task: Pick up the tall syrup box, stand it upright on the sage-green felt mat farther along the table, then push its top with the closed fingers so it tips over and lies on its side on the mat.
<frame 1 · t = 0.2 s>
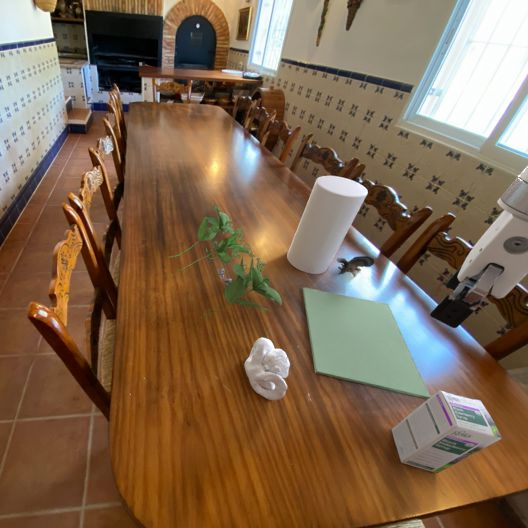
hand: (449, 304, 45), 25 cm above the table, tool pointing down, fingers open, 9 cm apart
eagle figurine: (348, 272, 89), on the table
felt mat: (355, 335, 70), on the table
baby figurine: (262, 374, 61), on the table
plant cuttings: (212, 292, 78), on the table
syrup box: (411, 450, 52), on the table
cylinder: (307, 261, 92), on the table
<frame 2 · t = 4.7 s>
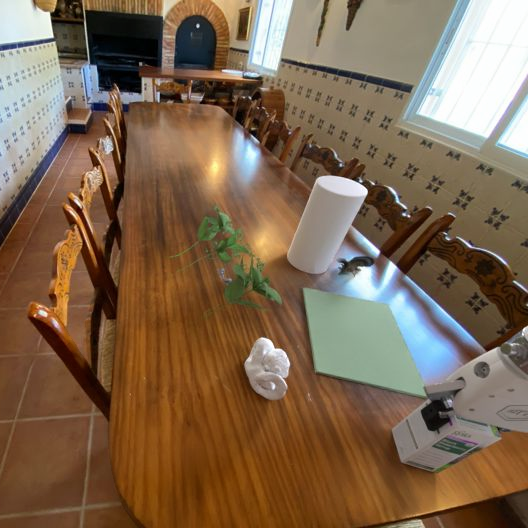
hand: (449, 426, 45), 10 cm above the table, tool pointing down, fingers closed on syrup box, 5 cm apart
syrup box: (411, 450, 52), on the table, touching gripper
everything else where it was.
when the fingers open (11 cm above the table, at t = 12.0 s): syrup box stays where it is, resting on felt mat.
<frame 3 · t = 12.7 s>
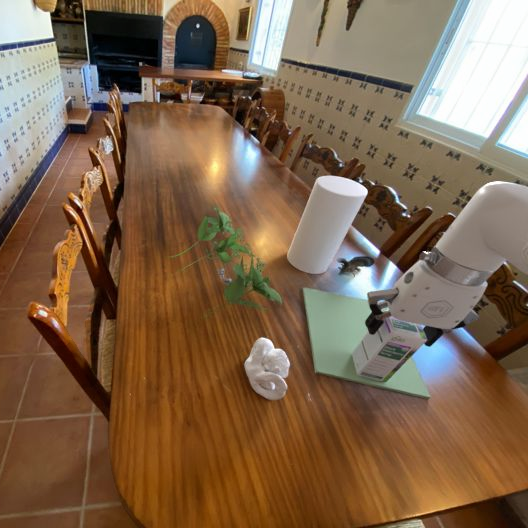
hand: (396, 334, 56), 12 cm above the table, tool pointing down, fingers open, 9 cm apart
syrup box: (367, 367, 63), point 1 cm above the table, touching felt mat
everything else where it was.
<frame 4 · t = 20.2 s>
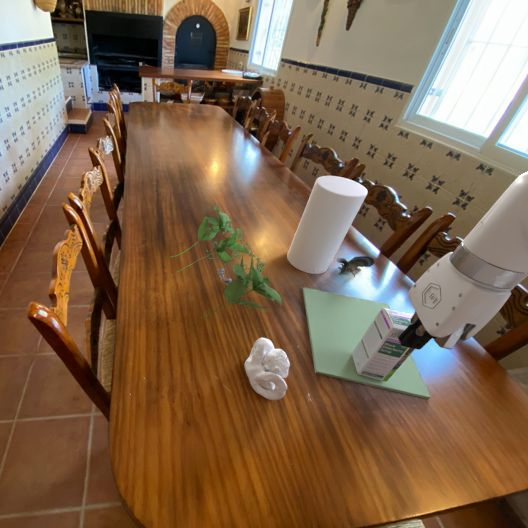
hand: (408, 343, 52), 14 cm above the table, tool pointing down, fingers closed
syrup box: (367, 367, 63), point 1 cm above the table, touching felt mat, gripper
everything else where it was.
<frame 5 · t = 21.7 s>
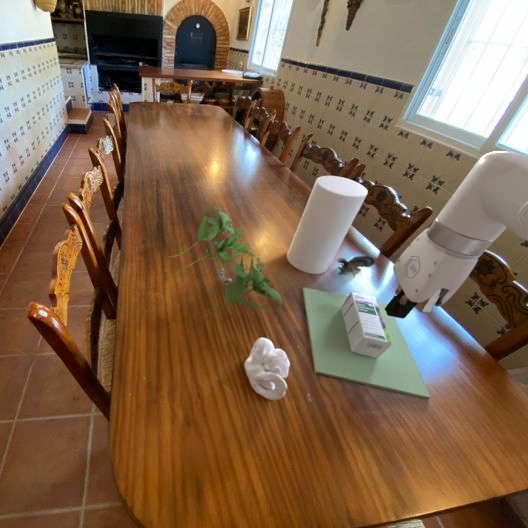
hand: (393, 313, 58), 14 cm above the table, tool pointing down, fingers closed
syrup box: (371, 349, 63), point 4 cm above the table, touching felt mat
everything else where it was.
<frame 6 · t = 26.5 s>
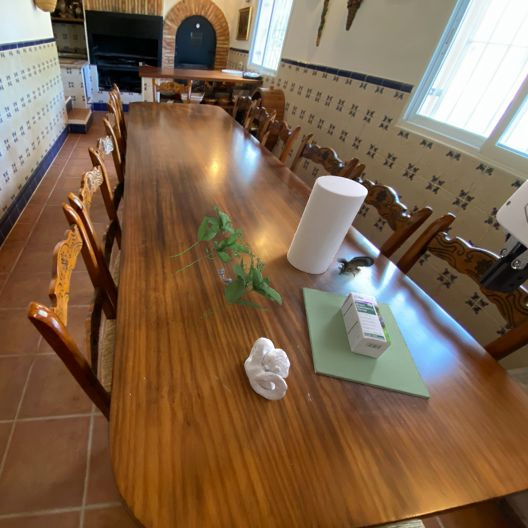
hand: (493, 287, 38), 31 cm above the table, tool pointing down, fingers closed
nothing on the table moved.
at the end: syrup box tilted 89°; syrup box inside the target area on the felt mat (6.5 cm from its centre), point 3.6 cm above the felt mat's base; the gripper is holding nothing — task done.
